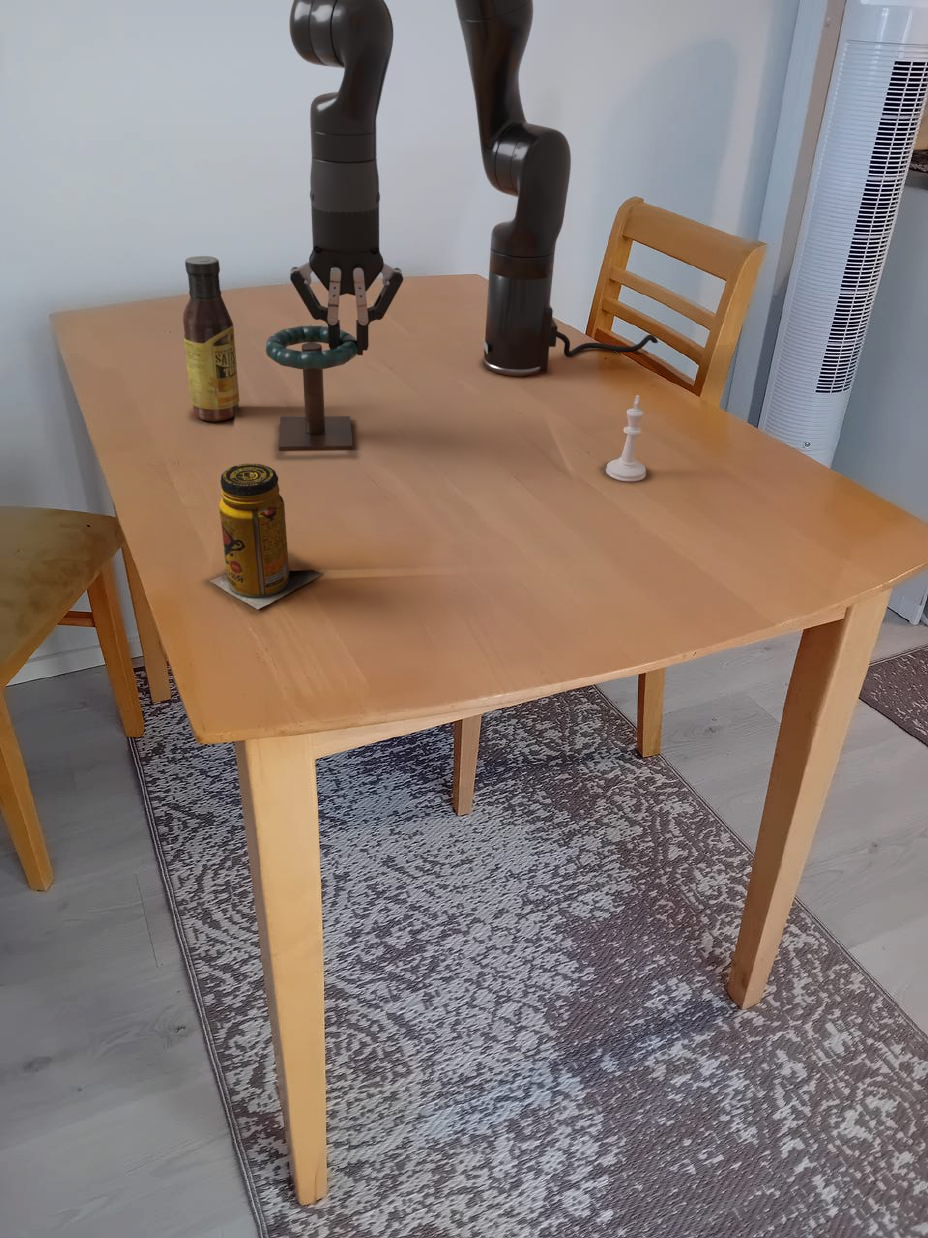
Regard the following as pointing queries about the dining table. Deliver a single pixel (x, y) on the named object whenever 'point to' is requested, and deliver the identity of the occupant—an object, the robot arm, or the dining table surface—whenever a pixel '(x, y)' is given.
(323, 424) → the peg stand
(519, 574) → the dining table surface
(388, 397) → the dining table surface
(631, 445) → the chess piece
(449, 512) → the dining table surface
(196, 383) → the sauce bottle
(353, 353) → the ring
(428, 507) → the dining table surface
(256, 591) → the condiment
